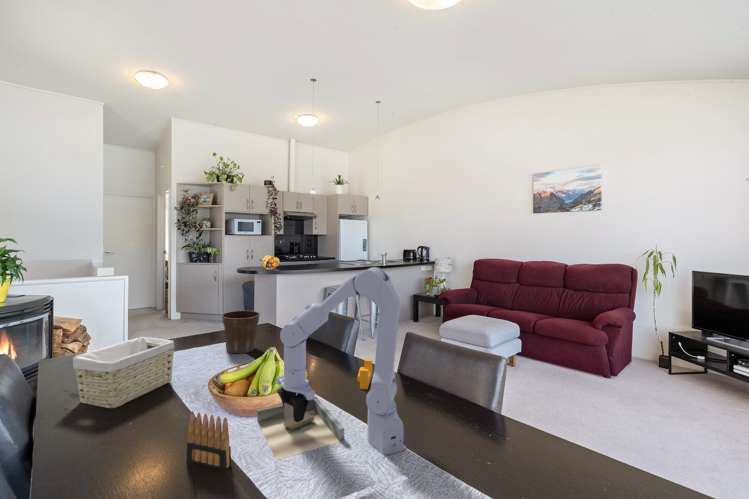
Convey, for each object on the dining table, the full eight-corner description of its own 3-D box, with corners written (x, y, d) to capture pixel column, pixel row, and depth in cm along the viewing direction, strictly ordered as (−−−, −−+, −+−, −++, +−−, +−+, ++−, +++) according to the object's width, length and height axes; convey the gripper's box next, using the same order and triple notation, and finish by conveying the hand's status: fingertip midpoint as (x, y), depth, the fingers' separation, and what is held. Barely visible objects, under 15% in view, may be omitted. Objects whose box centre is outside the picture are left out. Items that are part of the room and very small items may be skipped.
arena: (344, 443, 92) (344, 428, 92) (276, 463, 84) (276, 446, 84) (315, 410, 110) (316, 396, 110) (257, 423, 101) (257, 409, 101)
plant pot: (267, 348, 168) (268, 313, 167) (237, 358, 154) (237, 320, 153) (244, 342, 176) (244, 308, 176) (213, 351, 163) (213, 314, 162)
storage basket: (110, 413, 106) (109, 362, 106) (70, 404, 111) (69, 356, 111) (177, 381, 129) (177, 340, 129) (141, 375, 134) (141, 335, 133)
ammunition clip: (231, 468, 82) (231, 415, 81) (226, 474, 80) (226, 419, 80) (192, 459, 85) (192, 408, 84) (186, 464, 83) (185, 412, 83)
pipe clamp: (360, 375, 138) (360, 358, 137) (371, 376, 137) (372, 359, 137) (354, 389, 126) (355, 370, 125) (367, 389, 125) (367, 371, 125)
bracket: (292, 430, 95) (293, 407, 95) (283, 424, 98) (284, 402, 98) (314, 420, 101) (314, 399, 101) (304, 416, 103) (305, 394, 103)
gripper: (324, 370, 96) (323, 421, 96) (291, 357, 106) (291, 403, 106) (301, 377, 90) (301, 432, 91) (269, 363, 100) (269, 412, 101)
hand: (294, 417), depth 98 cm, fingers closed on bracket, 4 cm apart
